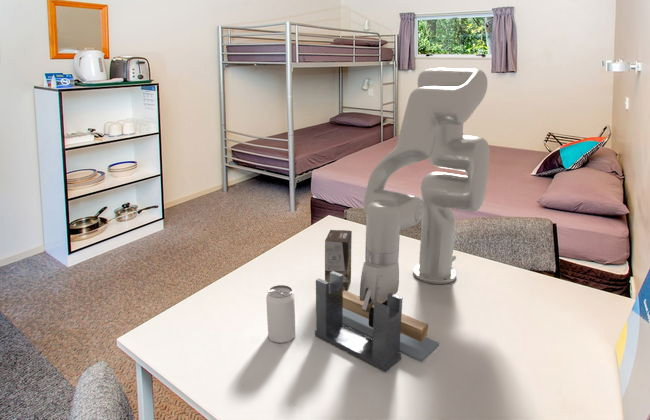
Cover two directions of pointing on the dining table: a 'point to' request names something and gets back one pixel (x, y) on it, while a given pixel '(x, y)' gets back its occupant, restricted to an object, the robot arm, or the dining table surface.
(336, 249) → the coffee box
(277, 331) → the can
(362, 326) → the mat
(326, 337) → the rail rack
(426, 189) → the robot arm
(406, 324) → the rail
